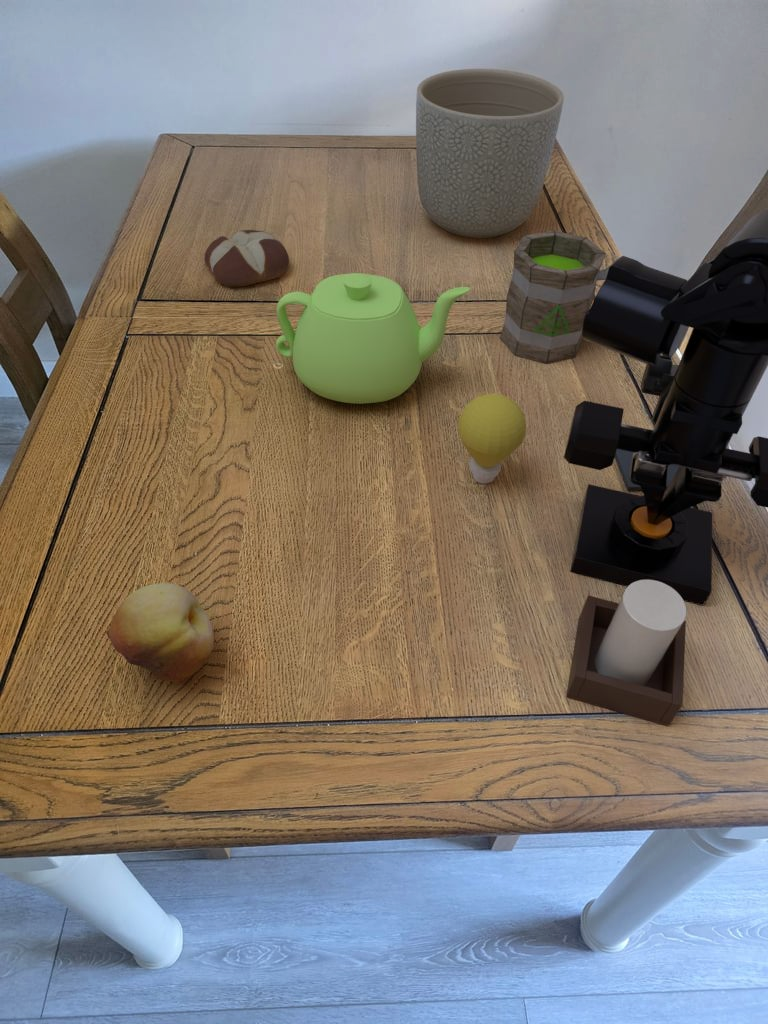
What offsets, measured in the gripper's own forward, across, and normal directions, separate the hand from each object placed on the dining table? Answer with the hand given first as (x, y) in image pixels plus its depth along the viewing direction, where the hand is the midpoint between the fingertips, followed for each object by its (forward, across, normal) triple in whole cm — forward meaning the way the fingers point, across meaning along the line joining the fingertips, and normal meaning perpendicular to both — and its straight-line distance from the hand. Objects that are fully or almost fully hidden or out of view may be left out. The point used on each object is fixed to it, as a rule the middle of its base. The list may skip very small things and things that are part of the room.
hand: (652, 520), depth 65 cm
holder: (+4, 0, +14) cm, 15 cm away
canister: (+4, 0, +14) cm, 14 cm away
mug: (+4, +13, -33) cm, 36 cm away
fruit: (+4, +36, +25) cm, 44 cm away
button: (+2, 0, 0) cm, 2 cm away
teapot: (+4, +34, -17) cm, 38 cm away
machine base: (+4, 0, 0) cm, 4 cm away
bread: (+4, +59, -36) cm, 69 cm away
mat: (+4, 0, -12) cm, 13 cm away
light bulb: (+4, +16, -5) cm, 18 cm away
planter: (+4, +31, -62) cm, 69 cm away
